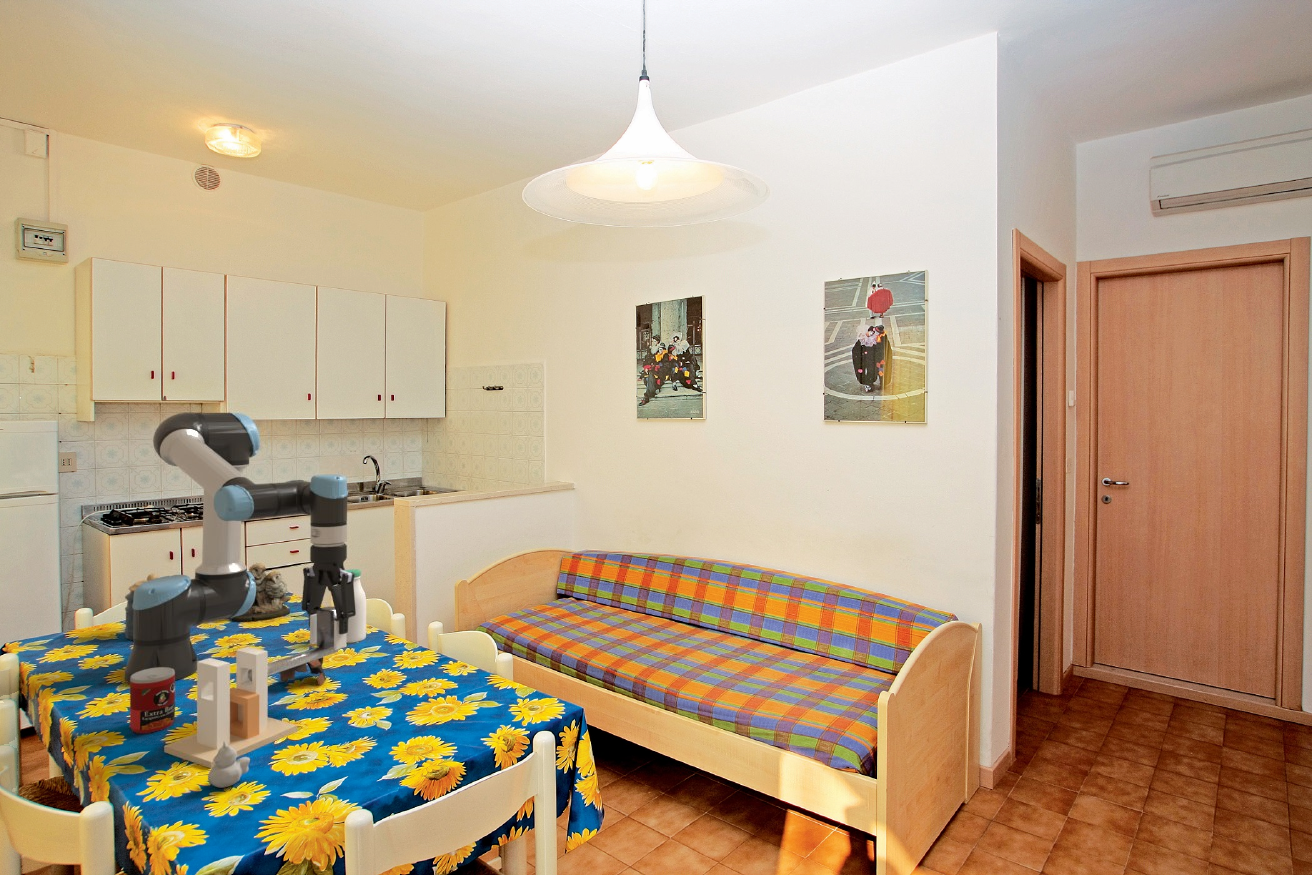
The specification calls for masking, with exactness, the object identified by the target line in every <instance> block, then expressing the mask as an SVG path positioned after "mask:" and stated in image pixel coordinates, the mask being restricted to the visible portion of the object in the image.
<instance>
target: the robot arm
mask: <svg viewBox="0 0 1312 875" xmlns="http://www.w3.org/2000/svg"><path fill="white" fill-rule="evenodd" d="M152 444H153V449H154V451H155V452H156V455H158V457H159V458H160V459H161V460H163V461H164V463H166V464H167V465H170V466H172V467H178V468H179V469H180V470H181V471H182V472H184V473H185V474H187V476H188V477H189V478H190V479H191V480H193V481H194V482H195V483H197V484H198V485H199V486H200V487H201V488H202V489H203V512H202V513H203V515H202V517H203V518H202V558H201V560H202V562H201V563H200V564H199V566H197V567H196V568H195V569H194V570H195V571H194V578H192V579H191V577H190V576H188V575H187V574H174V575H166V576H162V577H161V576H160V577H158V578H156V579H152V580H149V581H147V582H144V583H142V584H141V585H139V586H138V587H137V588H136V589H135V591H134V599H133V604H132V607H133V640H132V642H133V644H132V645H133V646H132V649H131V651H130V655H129V657H128V660H127V663H126V666H125V668H124V677H123V678H124V681H125V682H126V681H127V682H126V683H129V684H130V677H131V675H133V674H134V673H136V672H139V671H142V670H145V669H150V668H158V667H167V668H172V669H174V671H175V681H177V680H180V679H183V678H186V677H189V676H192V674H195V673H196V672H197V662H198V661H199V658H198V656H197V653H196V651H195V648H194V646H193V644H192V641H191V640H192V639H191V627H193V626H198V625H202V624H207V623H212V622H217V621H221V620H229V619H230V618H233V617H235V616H239V615H242V614H244V613H246V612H247V611H248V610H249V609H250V608H251V606H252V604H253V602H254V599H255V595H256V583H255V582H254V580H255V579H254V576H253V575H252V574H251V573H250V572H249V570H247V567H248V566H247V565H246V564H245V563H243V562H242V561H241V543H242V542H241V539H242V522H243V521H247V520H256V519H264V518H265V519H266V518H275V517H284V516H293V515H306V516H307V515H309V516H310V541H309V542H310V543H311V544H312V545H311V546H310V547H309V548H310V549H309V561H310V562H311V563H313V564H312V566H309V567H308V566H306V567H303V569H302V574H303V585H302V588H303V589H302V598H301V599H302V600H301V611H305V612H306V614H307V615H308V627H309V644H310V645H315V644H317V609H319V608H322V604H323V600H324V596H325V594H326V590H328V591H329V592H330V594H331V599H332V602H333V607H335V611H336V615H337V619H335V620H334V649H335V650H337V649H339V650H340V649H343V648H346V647H347V643H346V636H347V632H348V619H349V618H350V617H353V616H355V615H356V610H355V597H354V585H353V582H354V576H355V574H354V572H350V573H349V572H347V571H345V570H346V569H345V566H344V562H345V561H346V560H347V558H348V556H347V555H348V550H347V549H348V545H347V544H346V542H347V541H348V495H349V492H348V482H347V481H348V480H347V478H346V476H345V475H343V474H315V475H313V476H311V478H310V481H307V480H303V479H294V480H293V479H292V480H291V479H290V480H287V481H285V482H276V483H275V482H274V483H273V482H272V483H271V482H270V483H255V482H254V481H252V480H250V479H249V478H248V477H247V476H246V475H244V474H243V472H244V470H245V469H247V467H248V466H250V458H253V457H255V456H256V455H257V454H258V452H259V449H260V446H261V445H260V444H261V440H260V432H259V430H258V428H257V425H256V423H255V422H254V420H253V419H252V418H251V417H250V416H249V415H247V414H244V413H235V412H189V411H188V412H181V413H176V414H173V415H171V416H168V417H167V418H165V419H164V420H163V421H162V422H161V423H159V425H158V426H157V428H156V429H155V431H154V434H153V439H152ZM342 612H343V614H342ZM230 620H231V619H230Z"/></svg>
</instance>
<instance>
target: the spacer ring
mask: <svg viewBox="0 0 1312 875" xmlns="http://www.w3.org/2000/svg"><path fill="white" fill-rule="evenodd" d="M238 704H241V705H243V722H241V721H238ZM230 734H232V735H235V736H239V737H242V738H245V739H249V738H252V737H254V736H257V735H259V694H255V693H251V692H248V691H244V690H240V689H237V688H236V687H230Z"/></svg>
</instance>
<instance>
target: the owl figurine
mask: <svg viewBox="0 0 1312 875" xmlns="http://www.w3.org/2000/svg"><path fill="white" fill-rule="evenodd" d="M266 570H267V569H266V566H265V565H264V564H263V563H258V562H256V563H253V564H252V565H251V566H250V567H249V569H248V571H249V572H250V573H251V574H252V575H253V576H254V579H255V580H254V582H255V583H256V595H255V599H254V602H253V604H252V606H251V608H250V609H249V610H248V611H247V612H246V613H244V614H242V615H239V616H235V617H233V618H230V620H231V621H233V622H236V623H248V622H249V623H251V622H252V621H253V622H260V621H261V622H263V621H268V620H269V621H270V620H273V619H280V618H282V617H285V616H287V615H289V614H290V613H291V610H290V608H288V607H287V606H286V605H284V604H286V603H287V602H289V601H290V600H292V597H291V596H289V595H286V594H287V591H288V587H287V586H288V585H287V580H286V579H284V578H283V576H282V574H281V573H280V571H277V570H275V571H271V572H269V573H266Z"/></svg>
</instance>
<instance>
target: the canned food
mask: <svg viewBox="0 0 1312 875" xmlns="http://www.w3.org/2000/svg"><path fill="white" fill-rule="evenodd" d="M175 701H176V680H175V671H174V669H172V668H167V667H158V668H150V669H145V670H142V671H139V672H136V673H134V674H133V675H131V677H130V683H129V713H130V714H129V718H130V720H129V721H130V722H129V723H130V724H129V725H130V729H131V731H132V732H133V731H134V732H133V733H135V732H136V734H150V733H151V732H153V733H156V732H155V731H157V732H160V731H159V730H161V731H163V729H164V730H166V729H168V728H170V727H171V726H172V725H173V724H174V721H175V719H176V713H175V712H176V702H175ZM165 728H166V729H165Z"/></svg>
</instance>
